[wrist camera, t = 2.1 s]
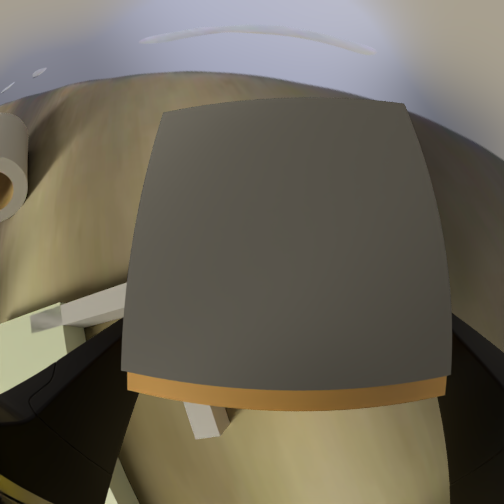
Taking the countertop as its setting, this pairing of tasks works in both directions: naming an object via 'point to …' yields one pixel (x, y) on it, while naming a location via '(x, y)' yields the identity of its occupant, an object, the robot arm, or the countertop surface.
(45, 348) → the plate with l-bracket
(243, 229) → the chute block
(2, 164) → the toilet paper
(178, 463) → the countertop surface
